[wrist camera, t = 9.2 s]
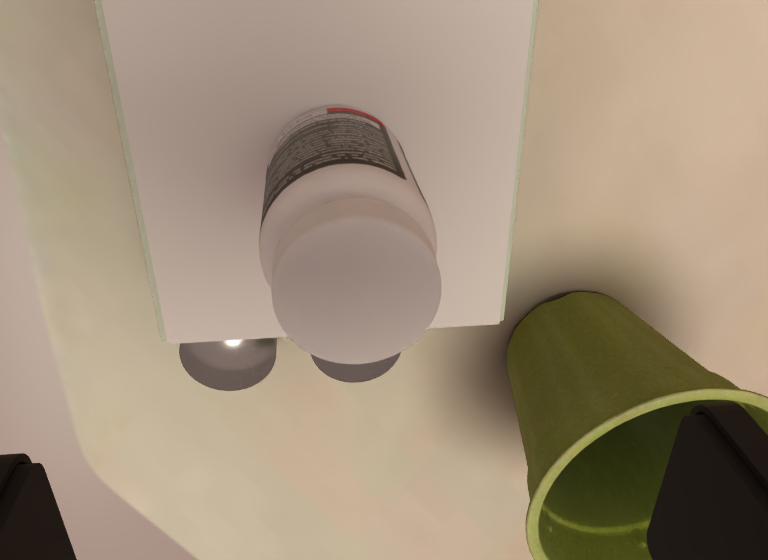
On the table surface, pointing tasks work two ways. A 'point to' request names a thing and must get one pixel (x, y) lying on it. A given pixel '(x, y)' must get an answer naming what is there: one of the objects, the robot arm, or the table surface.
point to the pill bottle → (347, 239)
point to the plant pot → (602, 423)
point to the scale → (295, 98)
